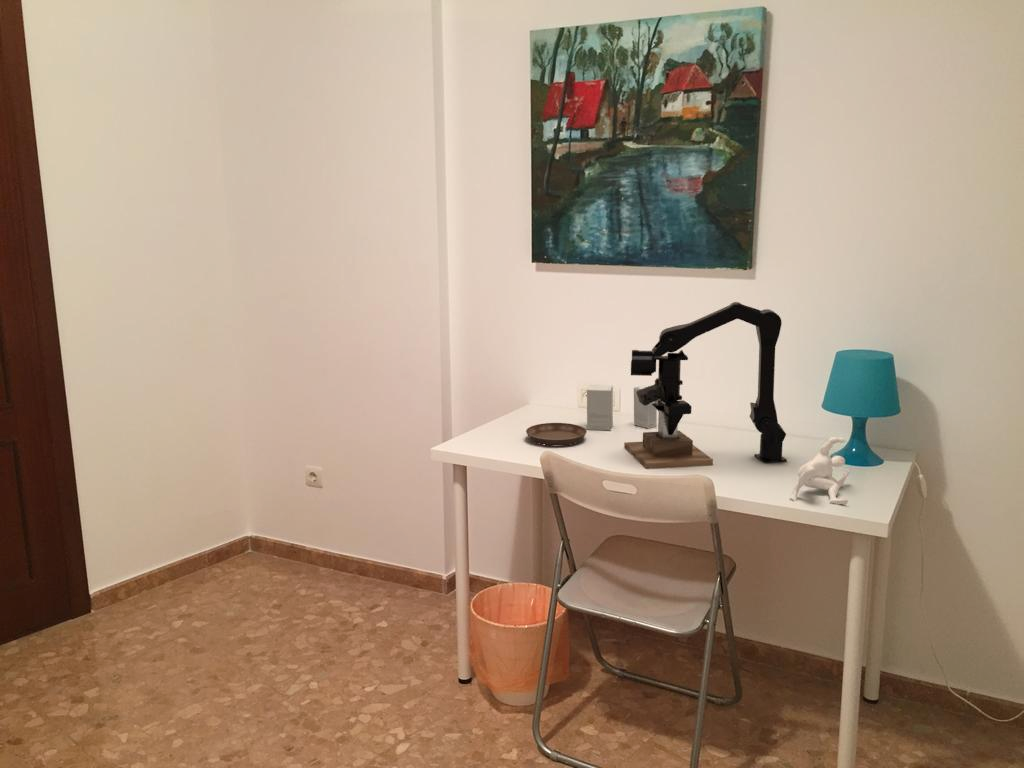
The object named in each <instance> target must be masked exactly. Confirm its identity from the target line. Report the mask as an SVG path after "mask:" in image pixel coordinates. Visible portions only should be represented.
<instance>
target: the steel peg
mask: <svg viewBox="0 0 1024 768" xmlns="http://www.w3.org/2000/svg"><path fill="white" fill-rule="evenodd" d="M661 411H662V410H659V412H658V415H657V418H658V419H657V420H658V422H657V424H658V425H657V426H658V427H657V432H658V437H659V438H660V439H661V440H662V439H677V431H678V430H679V429H678V427H679V424H678V425H677V427H676V429H675V431H674V433H673V434H672V435H669V434H668V429H667V421H666V416H665V415H664V414H663V413H662V412H661Z"/></svg>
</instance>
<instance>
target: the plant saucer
mask: <svg viewBox="0 0 1024 768" xmlns="http://www.w3.org/2000/svg"><path fill="white" fill-rule="evenodd" d="M587 432H588V430H587V429H586V428H585V427H584V426H581V425H578V424H573V423H567V422H545V423H539V424H538V423H537V424H534V425H532V426H529V427H527V429H526V430H525V433H526V435H527V436H528V437H529V439H530V440H531V441H532V442H533V441H534V442H533V443H535V442H536V443H535V444H537V443H540V444H545V445H568V446H571V445H570V444H573V445H575V443H576V444H578V443H579V442H581V440H583V438H584V437H585V436H586V434H588V433H587ZM540 444H539V445H540ZM545 445H544V446H545Z"/></svg>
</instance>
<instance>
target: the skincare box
mask: <svg viewBox="0 0 1024 768" xmlns="http://www.w3.org/2000/svg"><path fill="white" fill-rule="evenodd" d="M646 387H647V386H646V385H645V386H644V385H640V386H635V387H633V424H634V426H636V425H637V426H636V427H642V428H646V429H653V428H656V427H657V426H658V425H657V424H658V422H657V420H658V419H657V418H658V414H657V412H658V410H657V409H656V408H655V407H654V406H653V405H652V404H654V403H655V401H654V402H651V403H650V404H648V405H645V406H644V405H643V404H642V403H640V402H639V399H638V396H637V393H636V392H637V391H639V390H641V389H643V388H646Z"/></svg>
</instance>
